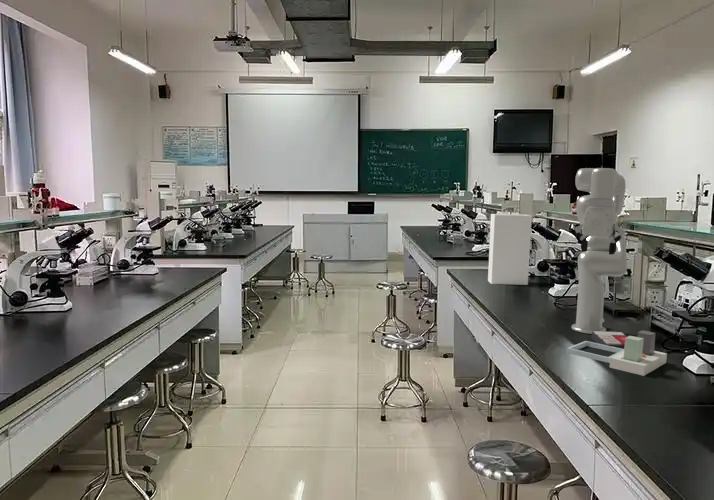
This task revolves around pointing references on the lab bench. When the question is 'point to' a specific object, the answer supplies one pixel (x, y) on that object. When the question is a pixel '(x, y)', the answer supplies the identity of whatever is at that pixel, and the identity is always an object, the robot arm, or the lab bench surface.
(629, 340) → the sage plug
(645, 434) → the lab bench surface
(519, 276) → the storage box
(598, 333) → the calculator
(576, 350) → the light blue square frame
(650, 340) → the dark gray block
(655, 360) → the power strip
